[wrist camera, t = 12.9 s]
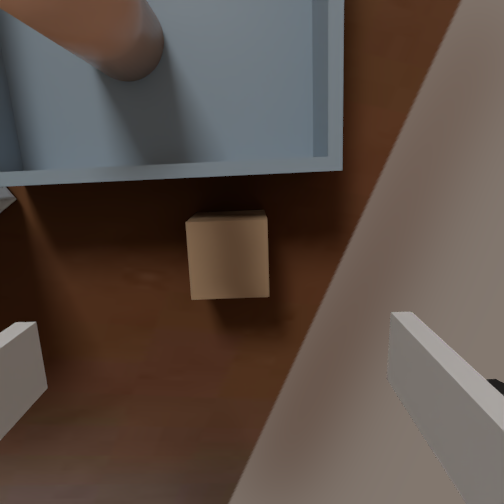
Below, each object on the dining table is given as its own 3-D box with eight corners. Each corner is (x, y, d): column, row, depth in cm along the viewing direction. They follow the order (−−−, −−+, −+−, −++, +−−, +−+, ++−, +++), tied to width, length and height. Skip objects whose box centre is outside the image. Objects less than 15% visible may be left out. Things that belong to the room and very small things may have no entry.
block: (201, 276, 29) (191, 299, 24) (196, 212, 27) (185, 222, 23) (266, 274, 29) (269, 296, 24) (264, 209, 27) (267, 219, 23)
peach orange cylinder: (91, 83, 24) (-32, 20, 14) (79, -3, 23) (-66, -145, 13) (167, 79, 24) (103, 12, 14) (159, -7, 23) (82, -154, 12)
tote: (23, 183, 27) (-41, 188, 21) (-31, -108, 23) (-128, -202, 17) (322, 169, 27) (342, 170, 21) (321, -126, 23) (346, -227, 17)
